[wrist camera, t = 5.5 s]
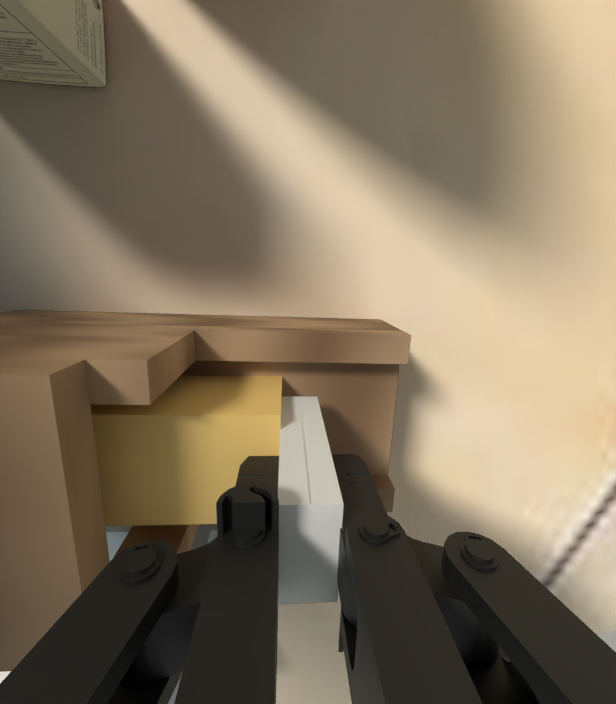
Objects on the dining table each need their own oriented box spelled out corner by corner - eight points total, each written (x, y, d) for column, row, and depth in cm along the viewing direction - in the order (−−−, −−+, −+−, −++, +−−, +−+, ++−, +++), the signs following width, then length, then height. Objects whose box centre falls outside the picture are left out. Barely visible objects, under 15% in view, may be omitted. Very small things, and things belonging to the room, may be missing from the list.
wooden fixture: (-113, 459, 18) (-617, 698, 8) (-156, 305, 16) (-894, 361, 6) (368, 458, 20) (453, 651, 10) (380, 319, 18) (501, 381, 8)
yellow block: (123, 460, 15) (67, 527, 11) (114, 374, 14) (49, 414, 10) (281, 459, 15) (279, 522, 12) (282, 376, 15) (280, 415, 11)
